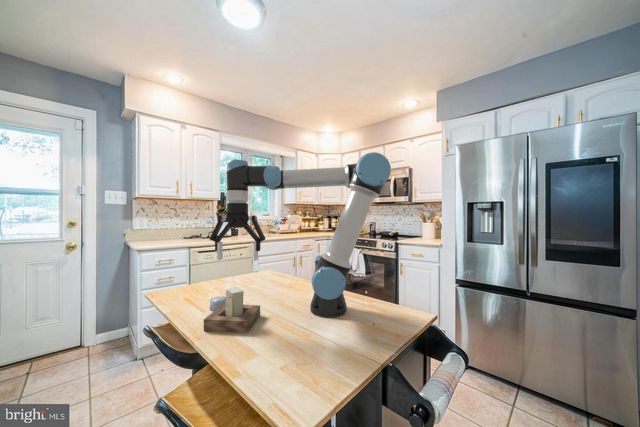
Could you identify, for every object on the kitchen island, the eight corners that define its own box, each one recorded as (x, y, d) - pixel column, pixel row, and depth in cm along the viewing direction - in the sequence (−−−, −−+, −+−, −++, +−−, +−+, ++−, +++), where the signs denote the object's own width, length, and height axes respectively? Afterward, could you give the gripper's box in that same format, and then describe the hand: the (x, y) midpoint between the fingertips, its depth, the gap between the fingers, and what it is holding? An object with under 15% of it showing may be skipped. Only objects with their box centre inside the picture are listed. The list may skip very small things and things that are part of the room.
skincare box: (224, 321, 98) (225, 288, 98) (236, 318, 101) (236, 286, 101) (231, 327, 93) (232, 293, 93) (243, 323, 96) (243, 290, 96)
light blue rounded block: (230, 305, 114) (230, 296, 114) (223, 312, 107) (223, 302, 107) (214, 305, 115) (214, 296, 115) (206, 311, 108) (206, 301, 108)
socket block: (260, 315, 104) (260, 305, 104) (246, 333, 89) (246, 321, 89) (223, 313, 105) (223, 303, 105) (203, 331, 90) (203, 319, 90)
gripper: (273, 202, 101) (273, 258, 101) (209, 202, 102) (210, 257, 103) (268, 202, 93) (268, 262, 93) (199, 202, 95) (200, 261, 95)
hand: (237, 259), depth 98 cm, fingers open, 13 cm apart
